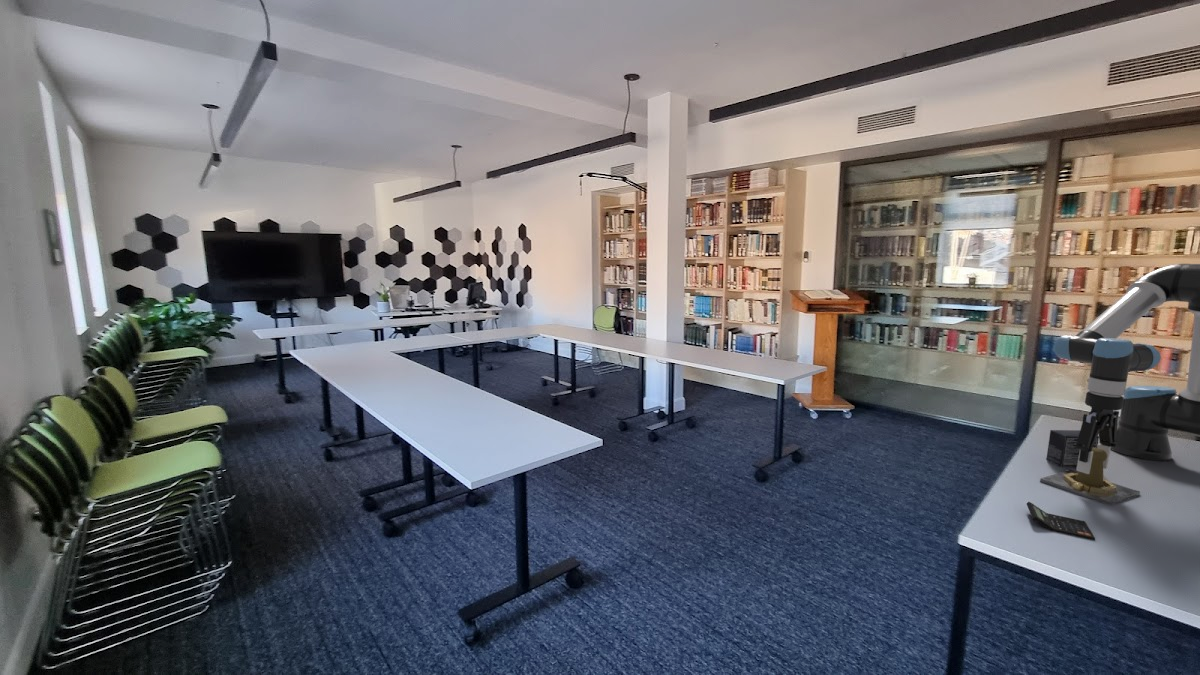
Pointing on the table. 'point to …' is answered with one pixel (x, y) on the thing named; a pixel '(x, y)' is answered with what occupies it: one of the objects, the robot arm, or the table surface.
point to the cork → (1094, 470)
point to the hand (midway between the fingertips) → (1091, 469)
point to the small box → (1064, 447)
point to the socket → (1090, 488)
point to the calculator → (1060, 523)
